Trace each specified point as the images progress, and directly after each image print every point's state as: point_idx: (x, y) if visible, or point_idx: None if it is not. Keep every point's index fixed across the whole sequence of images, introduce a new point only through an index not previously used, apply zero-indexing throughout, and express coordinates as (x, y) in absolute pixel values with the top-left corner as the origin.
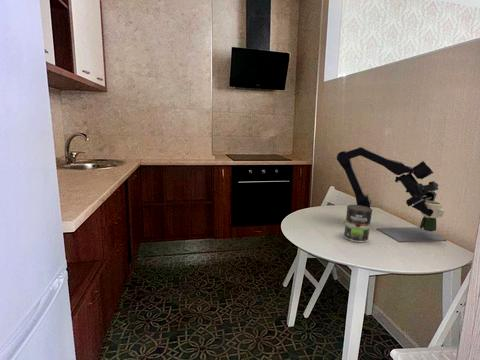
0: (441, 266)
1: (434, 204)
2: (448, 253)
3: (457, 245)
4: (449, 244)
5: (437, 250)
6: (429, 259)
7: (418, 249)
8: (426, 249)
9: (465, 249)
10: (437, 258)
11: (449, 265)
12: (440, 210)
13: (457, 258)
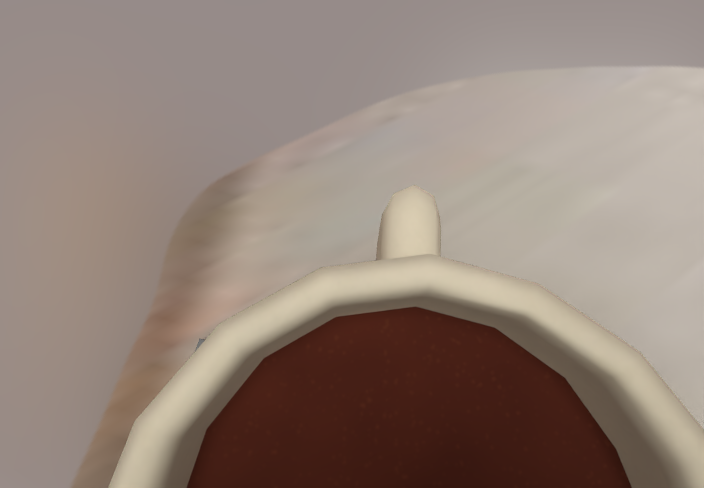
0: (688, 79)
1: (623, 341)
2: (455, 177)
3: (223, 246)
4: (265, 280)
5: (487, 235)
6: (685, 159)
7: (626, 295)
8: (559, 274)
9: (250, 180)
10: (614, 152)
11: (624, 72)
12: (437, 244)
13: (473, 112)
